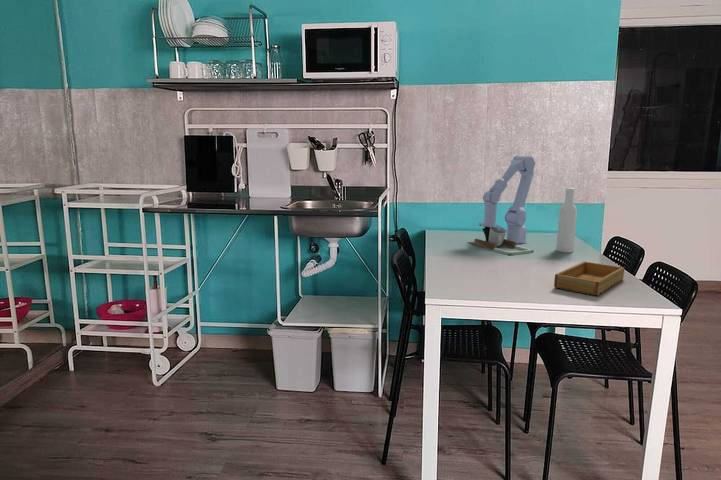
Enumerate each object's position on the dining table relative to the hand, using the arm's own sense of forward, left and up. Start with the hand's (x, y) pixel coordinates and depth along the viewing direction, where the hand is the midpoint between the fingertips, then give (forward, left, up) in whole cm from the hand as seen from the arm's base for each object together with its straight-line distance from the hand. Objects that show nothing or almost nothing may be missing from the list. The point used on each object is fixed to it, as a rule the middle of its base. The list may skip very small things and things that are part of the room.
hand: (488, 242), depth 268 cm
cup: (0, +5, -1) cm, 5 cm away
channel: (0, +5, -1) cm, 5 cm away
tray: (+14, +73, -2) cm, 74 cm away
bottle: (-24, +27, -1) cm, 36 cm away
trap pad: (0, -5, -1) cm, 6 cm away
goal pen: (0, +17, -1) cm, 17 cm away
